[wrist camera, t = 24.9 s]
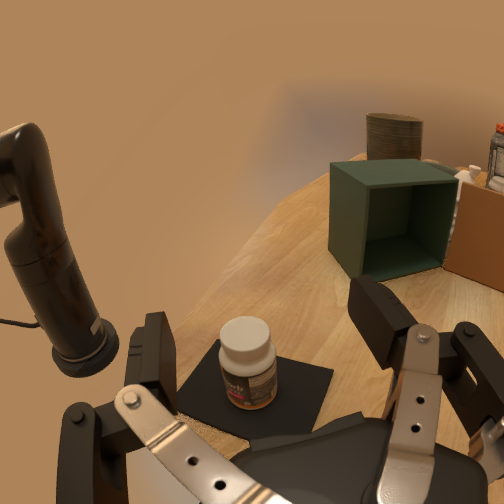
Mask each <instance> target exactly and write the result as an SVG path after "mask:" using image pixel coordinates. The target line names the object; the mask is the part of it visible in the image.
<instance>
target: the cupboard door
mask: <svg viewBox="0 0 504 504" xmlns="http://www.w3.org/2000/svg"><path fill="white" fill-rule="evenodd" d="M444 269H446V270H449V271H451V272H454V273H457V274H459V275H462V276H465V277H467V278H470V279H472V280H475V281H477V282H480V283H482V284H485V285H487V286H490V287H492V288H495V289H497V290H500V291H502V292H504V194H502V193H499V192H496V191H493V190H490V189H487V188H484V187H481V186H478V185H474V184H471V183H468V182H464V181H463V182H462V186H461V192H460V198H459V204H458V210H457V215H456V220H455V225H454V230H453V235H452V239H451V244H450V248H449V252H448V256H447V260H446V264H445V267H444Z"/></svg>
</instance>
